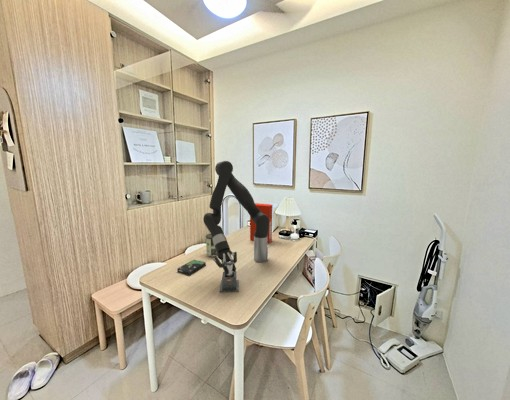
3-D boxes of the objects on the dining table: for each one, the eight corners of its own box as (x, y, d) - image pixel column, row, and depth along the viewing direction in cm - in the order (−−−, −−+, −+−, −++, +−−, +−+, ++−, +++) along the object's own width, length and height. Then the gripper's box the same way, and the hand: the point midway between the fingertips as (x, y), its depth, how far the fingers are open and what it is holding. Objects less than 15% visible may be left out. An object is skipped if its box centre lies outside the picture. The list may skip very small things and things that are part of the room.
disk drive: (189, 276, 126) (206, 266, 139) (189, 272, 125) (206, 262, 138) (177, 272, 130) (194, 262, 143) (176, 268, 130) (193, 258, 143)
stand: (238, 281, 120) (238, 269, 119) (238, 291, 110) (238, 279, 109) (221, 281, 119) (220, 270, 118) (219, 292, 110) (219, 280, 108)
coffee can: (222, 251, 161) (222, 233, 159) (217, 257, 151) (216, 238, 149) (209, 250, 163) (209, 232, 161) (204, 255, 153) (203, 237, 151)
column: (234, 281, 117) (234, 259, 115) (234, 286, 112) (233, 263, 110) (225, 281, 117) (224, 259, 115) (224, 286, 112) (224, 263, 110)
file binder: (268, 243, 177) (269, 206, 172) (250, 240, 184) (250, 204, 178) (271, 240, 185) (272, 204, 179) (253, 237, 191) (253, 202, 186)
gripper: (210, 243, 113) (221, 274, 105) (234, 238, 121) (245, 266, 113) (207, 249, 118) (216, 279, 110) (229, 244, 126) (240, 271, 118)
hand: (231, 272), depth 112 cm, fingers closed on column, 3 cm apart
